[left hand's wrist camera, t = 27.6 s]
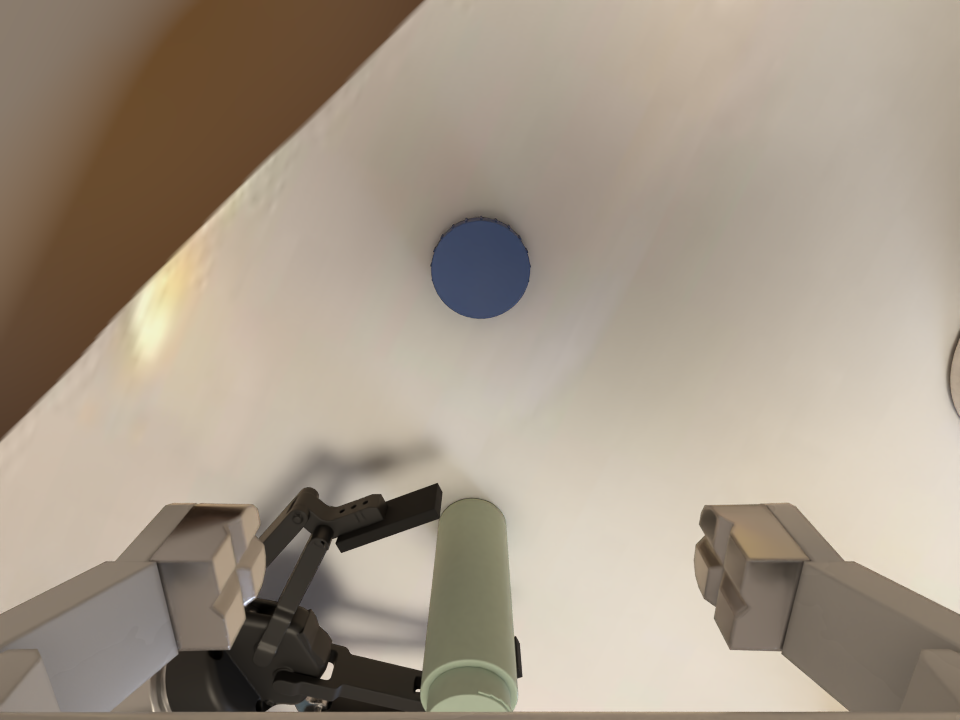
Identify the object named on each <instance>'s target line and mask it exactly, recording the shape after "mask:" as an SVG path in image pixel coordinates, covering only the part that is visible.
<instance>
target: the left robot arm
mask: <svg viewBox="0 0 960 720" xmlns="http://www.w3.org/2000/svg"><path fill="white" fill-rule="evenodd" d="M950 387H951V395H952V399H953V403H954V406H955V408H956V411H957V413H958V414H959V416H960V339H959V341H958V344H957V347H956V350H955V353H954V356H953V361H952V366H951V375H950ZM260 525H261V522H260V517H259V512H258V509H257V508H256V507H255V506H254V505H253V504H210V503H200V504H197V503H172V504H169V505H166V506H165V507H164V508H163V509H162V510H161V511H160V512H159V513H158V514H157V515H156V516H155V518H154V519H153V520H152V521H151V522H150V523H149V524H148V525H147V526H146V528H145V529H144V530H143V531H142V532H141V533H140V534H139V535H138V536H137V538H136V539H135V540H134V541H133V542H132V543H131V544H130V545H129V546H128V548H127V549H126V550H125V551H124V552H123V553H122V554H121V555H120V556H119V558H118V559H117V560H116V561H111V562H104V563H102V564H100V565H98V566H96V567H94V568H92V569H90V570H88V571H86V572H84V573H82V574H80V575H78V576H76V577H74V578H72V579H70V580H68V581H66V582H64V583H62V584H60V585H58V586H56V587H54V588H52V589H50V590H48V591H46V592H44V593H42V594H40V595H38V596H36V597H34V598H32V599H30V600H28V601H26V602H24V603H22V604H20V605H18V606H16V607H14V608H12V609H10V610H8V611H6V612H4V613H2V614H0V720H960V614H958V613H956V612H954V611H952V610H950V609H948V608H946V607H944V606H942V605H940V604H938V603H936V602H934V601H932V600H930V599H928V598H926V597H924V596H922V595H920V594H918V593H916V592H914V591H912V590H910V589H908V588H906V587H904V586H902V585H900V584H898V583H896V582H894V581H892V580H890V579H888V578H886V577H884V576H882V575H880V574H878V573H876V572H874V571H872V570H870V569H868V568H866V567H864V566H862V565H860V564H858V563H856V562H849V561H844V560H843V559H842V558H841V556H840V555H839V554H838V553H837V552H836V551H835V550H834V549H833V548H832V546H831V545H830V544H829V543H828V542H827V541H826V540H825V539H824V538H823V536H822V535H821V534H820V533H819V532H818V531H817V530H816V529H815V528H814V526H813V525H812V524H811V523H810V522H809V521H808V520H807V519H806V518H805V516H804V515H803V514H802V513H801V512H800V511H799V510H798V509H797V508H796V506H794V505H792V504H790V503H767V504H748V505H705V506H704V508H703V510H702V512H701V516H700V522H699V525H700V527H701V529H702V530H703V532H704V534H705V536H704V537H703V538H702V539H701V540H700V541H699V542H698V543H697V544H696V547H695V555H694V568H695V577H696V580H697V584H698V587H699V589H700V591H701V593H702V596H703V598H704V599H705V600H707V601H708V602H710V603H711V604H712V605H714V606H715V607H716V609H715V615H714V620H715V622H716V623H717V625H718V627H719V629H720V631H721V633H722V635H723V637H724V639H725V641H726V643H727V645H728V647H729V649H730V650H755V651H782V653H781V654H782V655H784V656H785V657H786V658H787V659H788V660H789V661H791V662H792V663H793V664H794V665H795V666H797V667H798V668H799V669H800V670H801V671H803V672H804V673H805V674H806V675H807V676H808V677H810V678H811V679H812V680H813V681H814V682H816V683H817V684H818V685H819V686H820V687H822V688H823V689H824V690H825V691H826V692H827V693H829V694H830V695H831V696H832V697H833V698H835V699H836V700H837V701H838V702H839V703H841V704H842V705H843V706H844V707H845V708H846V709H848V710H849V711H850V712H110V711H111V710H113V709H114V708H115V707H116V706H117V705H118V704H120V703H121V702H122V701H123V700H124V699H126V698H127V697H128V696H129V695H130V694H132V693H133V692H134V691H135V690H136V689H137V688H139V687H140V686H141V685H142V684H143V683H145V682H146V681H147V680H148V679H149V678H151V677H152V676H153V675H154V674H155V673H157V672H158V671H159V670H160V669H161V668H162V667H164V666H165V665H166V664H167V663H168V662H170V661H171V660H172V659H173V658H174V657H176V656H177V655H178V651H204V650H230V649H231V647H232V645H233V643H234V641H235V639H236V637H237V635H238V633H239V631H240V629H241V627H242V625H243V623H244V622H245V620H246V615H245V609H244V607H245V606H246V605H248V604H249V603H250V602H252V601H253V600H255V599H256V598H257V595H258V593H259V591H260V589H261V587H262V584H263V579H264V575H265V571H266V553H265V546H264V544H263V543H262V542H261V541H260V540H259V539H258V538H257V537H256V536H255V534H256V532H257V530H258V529H259V527H260Z"/></svg>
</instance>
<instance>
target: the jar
mask: <svg viewBox="0 0 960 720" xmlns="http://www.w3.org/2000/svg"><path fill="white" fill-rule="evenodd" d="M420 698H421V703H422V705H423V708H424V709H425V711H426V712H513V710H514V708H515V706H516V704H517V700H518V685H517V671H516V657H515V643H514V629H513V614H512V600H511V586H510V572H509V558H508V544H507V530H506V521H505V518H504V516H503V514H502V513H501V511H500V510H499V509H498V508H497V507H496V506H494V505H493V504H491V503H489V502H487V501H485V500H481V499H472V498H471V499H463V500H460V501H457V502H455V503H453V504H452V505H450V506H449V507H448V508H447V509H446V510H445V511H444V512H443V514H442V515H441V517H440V520H439V526H438V535H437V544H436V553H435V562H434V571H433V580H432V589H431V598H430V607H429V616H428V626H427V635H426V644H425V653H424V662H423V671H422V680H421V689H420Z"/></svg>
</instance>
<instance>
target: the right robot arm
mask: <svg viewBox="0 0 960 720" xmlns="http://www.w3.org/2000/svg"><path fill="white" fill-rule="evenodd" d="M318 498H319V494H318V492H317V491H316V490H315V489H313V488H310V487H307V488H304V489H302V490H301V491H300V492H299V494H298V495H297V496H296V497H295V498H294V499H293V500H292V501H291V503H290V504H289V505H288V506H287V507H286V508H285V509H284V510H283V512H282V513H281V514H280V515H279V516H278V517H277V518H276V520H275V521H274V522H273V523H272V524H271V525H270V526H269V527H268V529H267V530H266V531H265V532H264V533H263V534H262V535H261V537H260V538H259V540H260V541H261V542H262V543H263V544H264V546H265V553H266V568H267V567H268V566H269V564H270V563H271V562H272V561H273V560H274V559H275V558H276V557H277V556H278V555H279V553H280V552H281V551H282V550H283V549H284V548H285V547H286V546H287V545H288V544H289V543H290V541H291V540H292V539H293V538H294V537H295V536H296V535H297V534H298V533H299V532H300V530H301V529H302V528H303V527H304V528H305V529H307V530H308V531H309V532H310V533H311V536H310V538H309V540H308V542H307V544H306V546H305V548H304V550H303V552H302V554H301V556H300V558H299V560H298V562H297V564H296V566H295V568H294V570H293V572H292V574H291V576H290V578H289V580H288V582H287V584H286V586H285V588H284V590H283V592H282V594H281V596H280V598H279V600H278V602H276V601H270V600H265V599H259V598H256V599H255V600H253V601H252V602H250V603H249V604H248V605H246V606H245V607H244V609H245V615H246V620H245V622H244V623H243V625H242V627H241V629H240V631H239V633H238V635H237V637H236V639H235V641H234V643H233V645H232V647H231V649H230V650H204V651H178V655H177V656H176V657H174V658H173V659H172V660H171V661H170V662H168V663H167V664H166V665H165V666H164V667H162V668H161V669H160V670H159V671H158V672H157V673H155V674H154V675H153V676H152V677H151V678H149V679H148V680H147V681H146V682H145V683H143V684H142V685H141V686H140V687H139V688H137V689H136V690H135V691H134V692H133V693H132V694H130V695H129V696H128V697H127V698H126V699H124V700H123V701H122V702H121V703H120V704H118V705H117V706H116V707H115V708H114V709H113V710H111V711H110V712H265V711H267V710H268V709H269V708H271V707H272V706H274V705H277V704H288V705H295V706H296V708H297V710H298V712H426V711H425V709H424V708H423V705H422V703H421V698H420V692H415V691H416V690H417V689H421V680H422V671H419V670H415V669H411V668H407V667H402V666H398V665H394V664H390V663H385V662H381V661H377V660H373V659H369V658H364V657H360V656H356V655H352V654H350V652H349V650H348V649H347V648H346V647H344V646H340V645H335V644H332V640H331V638H330V637H329V635H328V634H327V633H326V632H325V631H324V630H323V629H322V628H321V627H320V626H319V624H318V620H317V617H316V615H315V614H314V612H313V611H312V609H310V610H306V609H305V608H303V607H301V606H299V604H300V602H301V600H302V598H303V596H304V594H305V592H306V590H307V588H308V586H309V584H310V582H311V580H312V579H313V577H314V575H315V573H316V571H317V569H318V567H319V565H320V563H321V561H322V559H323V557H324V555H325V553H326V551H327V550H328V549H329V546H330V544H331V541H332V539H334V538H337V537H338V538H337V541H336V545H337V547H338V548H339V550H340V552H341V553H343V552H346V551H348V550H351V549H354V548H357V547H360V546H363V545H365V544H368V543H371V542H374V541H377V540H380V539H382V538H385V537H388V536H391V535H394V534H397V533H399V532H402V531H405V530H408V529H411V528H414V527H417V526H419V525H422V524H425V523H428V522H431V521H434V520H436V519H439V518H440V510H441V501H442V491H441V489H440V487H439V485H438V483H436V484H433V485H431V486H428V487H425V488H422V489H420V490H417V491H414V492H411V493H408V494H406V495H403V496H400V497H397V498H395V499H392V500H389V501H386V502H385V500H384V499H383V497H382V495H381V494H372V495H369V496H366V497H364V498H361V499H359V500H355V501H353V502H350V503H347V504H344V505H342V506H339V507H332V506H327V505H326V504H324V503H323V502H322V501H321V500H320V499H318ZM514 643H515V657H516V671H517V678H520V677H522V665H521V653H520V643H519V641H518V639H517V637H516V636H515V637H514ZM328 662H331V663H333V665H334V669H333V672H332V676H331V678H330V679H329V680H323V679H320V678H321V676H322V675H323V673H324V672H325V670H326V668H327V665H328Z"/></svg>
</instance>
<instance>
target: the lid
mask: <svg viewBox="0 0 960 720" xmlns="http://www.w3.org/2000/svg"><path fill="white" fill-rule="evenodd" d="M433 252H434V255H433V259H432V263H431V275H432V281H433V284H434V287H435V289H436V292H437V294H438V295H439V297H440V298H441V300H442V301H443V302H444V303H445V304H446V305H447V306H448V307H449V308H451V309H452V310H453V311H455V312H457V313H459V314H461V315H463V316H466V317H470V318H477V319H485V318H491V317H495V316H498V315H500V314H503V313H504V312H506V311H508V310H509V309H511V308H512V307H513V306H514V305H515V304H516V303H517V302H518V301H519V300H520V298H521V297H522V295H523V294H524V292H525V290H526V288H527V285H528V282H529V276H530V267H531V265H530V263H529V258H528V254H527V253H528V251H527V249H526V248H525V247H524V245H523V243H522V241H521V237H520V236H519V235H517V234H516V233H515V232H514V231H513V230H512V229H511V228H510V226H509V225H508V226H507V225H505V224H504V223H502V222H500V221H497V219H496V218H495V219H491V218H484V217H482V216H480V217H478V218H470V219H467V218H466V219H465V220H464V221H461V222H459V223H457V224H456V225H454V224H453V225H452V227H451V228H450V229H449V230H448V231H447V232H446V233H445V234H444V235H443V234H442V236H441V240H440V241H439V243H438V245H437V247H435V249H434V251H433Z"/></svg>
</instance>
